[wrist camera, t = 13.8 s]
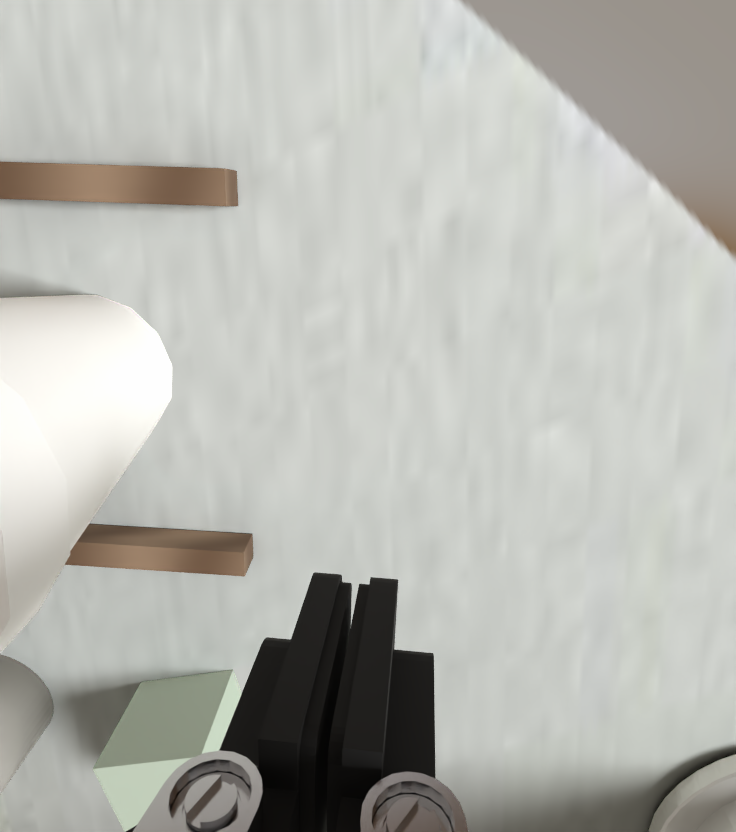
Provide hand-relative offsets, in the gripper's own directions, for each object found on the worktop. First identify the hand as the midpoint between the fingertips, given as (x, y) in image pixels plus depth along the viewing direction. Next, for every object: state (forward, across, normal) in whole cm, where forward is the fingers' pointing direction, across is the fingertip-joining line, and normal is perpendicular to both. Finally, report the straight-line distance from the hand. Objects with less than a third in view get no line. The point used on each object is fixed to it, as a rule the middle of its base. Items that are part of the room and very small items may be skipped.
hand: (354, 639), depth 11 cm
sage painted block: (+14, +9, +17) cm, 24 cm away
